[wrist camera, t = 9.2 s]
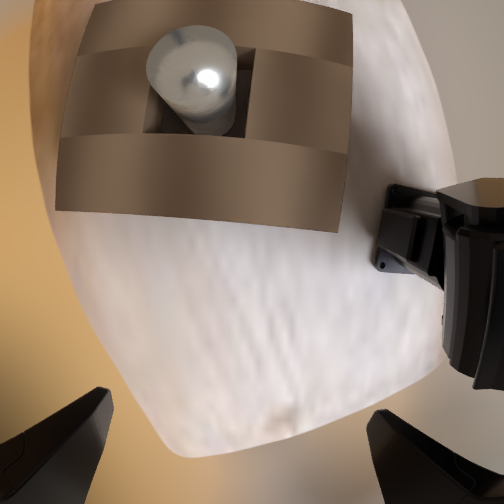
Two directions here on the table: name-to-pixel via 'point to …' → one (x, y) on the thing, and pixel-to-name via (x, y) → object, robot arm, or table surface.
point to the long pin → (196, 77)
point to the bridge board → (205, 146)
